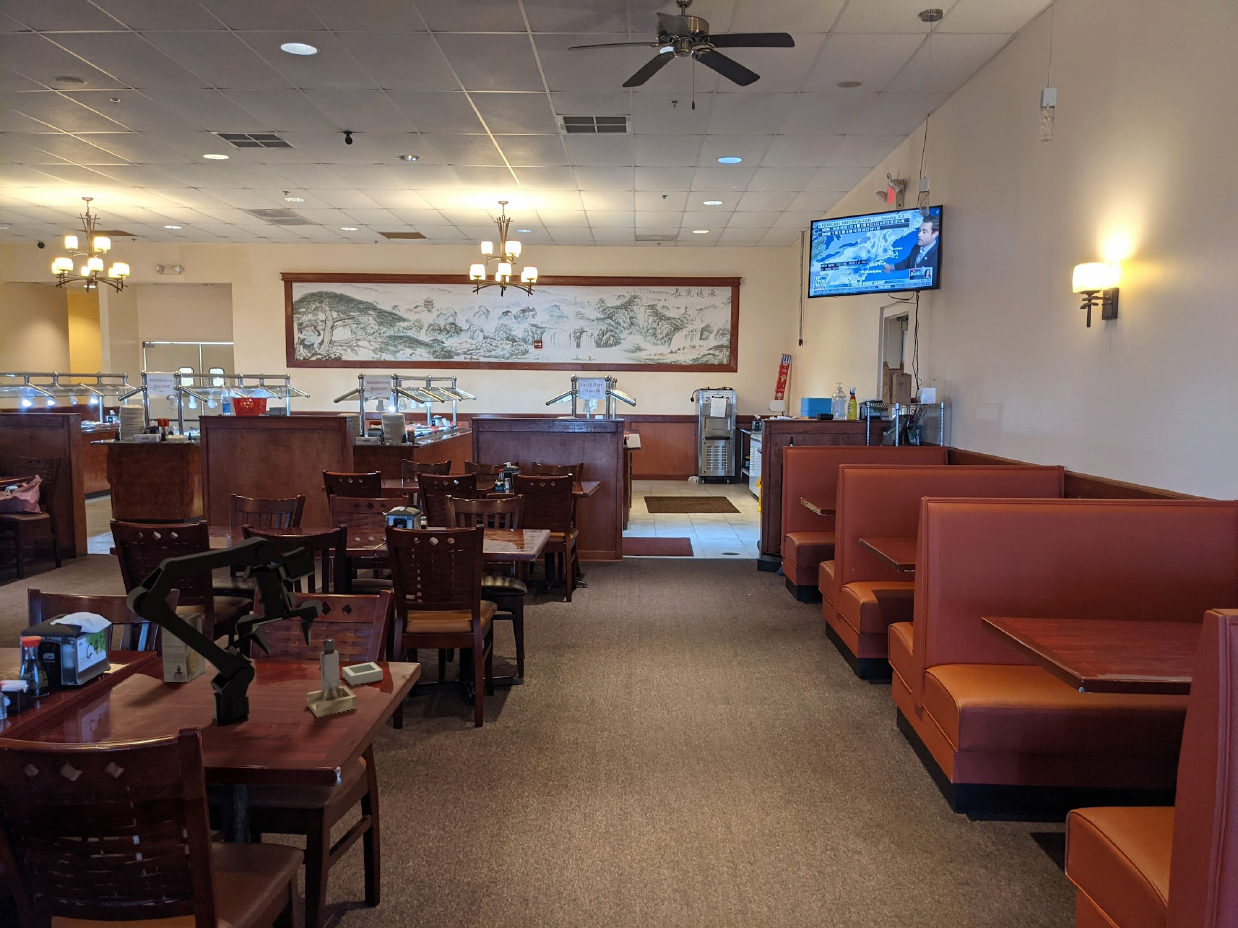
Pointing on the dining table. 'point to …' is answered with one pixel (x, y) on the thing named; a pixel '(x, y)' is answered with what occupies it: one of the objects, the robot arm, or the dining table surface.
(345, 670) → the socket block
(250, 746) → the dining table surface
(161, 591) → the robot arm
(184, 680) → the coffee box
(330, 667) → the silver and grey cylinder
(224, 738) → the dining table surface
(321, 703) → the beige square tray
